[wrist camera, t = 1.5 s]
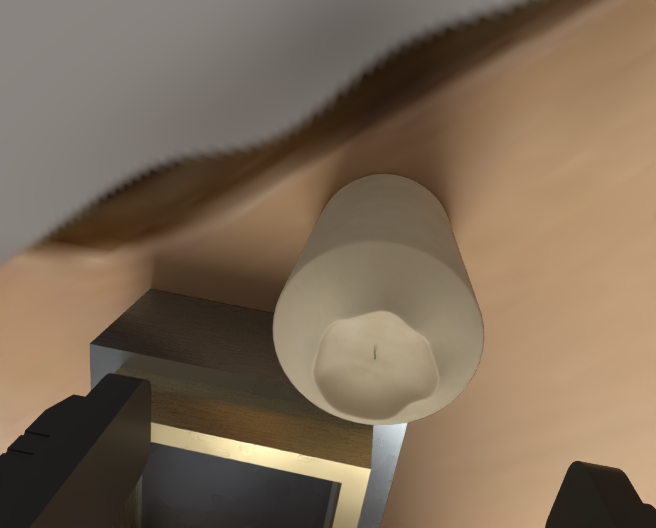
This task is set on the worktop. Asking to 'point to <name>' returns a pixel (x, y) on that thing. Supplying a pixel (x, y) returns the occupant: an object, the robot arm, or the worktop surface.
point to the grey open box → (237, 426)
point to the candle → (380, 307)
